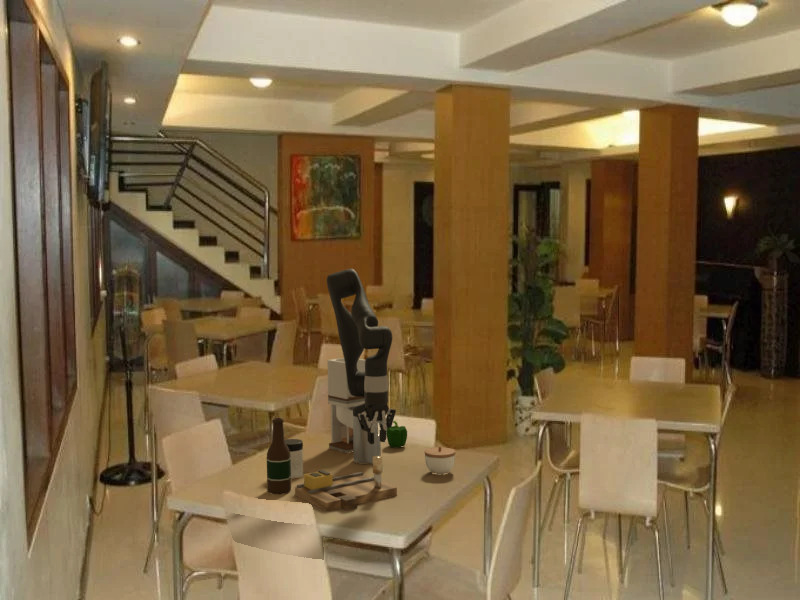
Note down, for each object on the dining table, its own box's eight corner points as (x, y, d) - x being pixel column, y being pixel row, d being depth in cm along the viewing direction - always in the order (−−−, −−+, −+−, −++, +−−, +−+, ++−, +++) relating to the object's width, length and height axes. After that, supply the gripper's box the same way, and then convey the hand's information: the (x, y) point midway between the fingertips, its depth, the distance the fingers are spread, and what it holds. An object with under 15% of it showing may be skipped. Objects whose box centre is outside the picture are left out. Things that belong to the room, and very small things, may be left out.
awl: (379, 485, 274) (378, 455, 273) (384, 487, 271) (383, 457, 271) (371, 487, 272) (370, 456, 271) (376, 489, 270) (376, 458, 269)
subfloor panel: (358, 479, 291) (358, 469, 290) (402, 497, 269) (402, 487, 269) (290, 492, 276) (290, 482, 275) (331, 513, 254) (331, 502, 254)
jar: (285, 480, 290) (284, 445, 289) (274, 474, 297) (274, 441, 296) (308, 476, 295) (307, 442, 294) (297, 470, 302) (297, 437, 301)
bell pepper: (407, 449, 331) (407, 423, 330) (386, 449, 331) (386, 424, 330) (407, 444, 339) (406, 419, 339) (386, 444, 339) (386, 419, 338)
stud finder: (323, 482, 277) (322, 469, 277) (332, 486, 272) (332, 473, 272) (304, 486, 273) (304, 472, 273) (313, 490, 268) (313, 476, 268)
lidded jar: (429, 467, 304) (429, 442, 303) (458, 469, 301) (458, 443, 300) (421, 475, 294) (421, 449, 293) (451, 478, 291) (451, 451, 290)
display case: (329, 448, 334) (327, 360, 331) (350, 443, 341) (348, 357, 338) (347, 453, 325) (346, 362, 323) (368, 448, 332) (367, 360, 330)
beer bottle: (280, 496, 272) (279, 422, 271) (262, 492, 276) (260, 419, 275) (296, 489, 279) (294, 417, 277) (277, 486, 283) (276, 415, 281)
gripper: (387, 385, 276) (388, 437, 278) (351, 390, 268) (351, 443, 270) (401, 388, 270) (401, 441, 272) (363, 393, 262) (364, 448, 263)
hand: (376, 442), depth 271 cm, fingers open, 3 cm apart
